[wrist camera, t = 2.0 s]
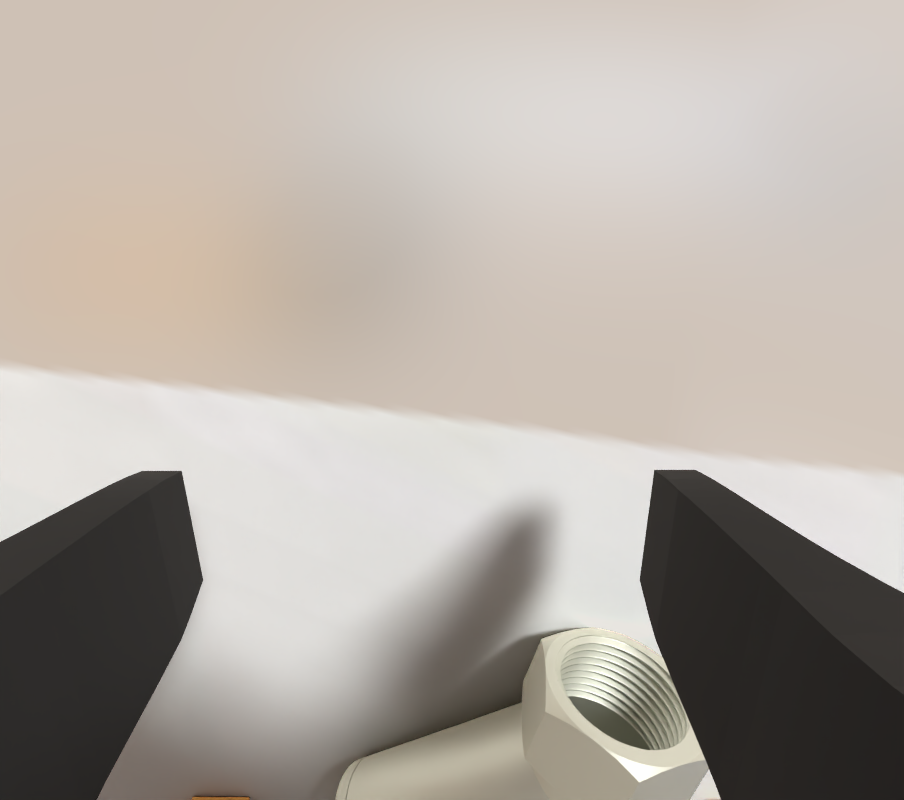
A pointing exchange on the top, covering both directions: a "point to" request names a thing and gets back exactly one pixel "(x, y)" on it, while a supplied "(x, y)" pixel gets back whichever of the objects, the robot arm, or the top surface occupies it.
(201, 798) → the bracket
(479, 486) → the top surface
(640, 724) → the pipe fitting
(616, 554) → the top surface
